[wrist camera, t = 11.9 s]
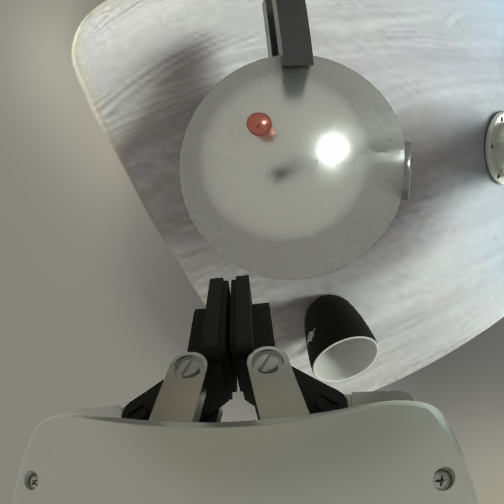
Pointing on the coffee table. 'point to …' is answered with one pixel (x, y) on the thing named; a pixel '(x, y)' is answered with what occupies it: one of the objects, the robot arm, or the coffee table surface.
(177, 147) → the coffee table surface
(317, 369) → the mug
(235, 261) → the lid
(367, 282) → the coffee table surface
